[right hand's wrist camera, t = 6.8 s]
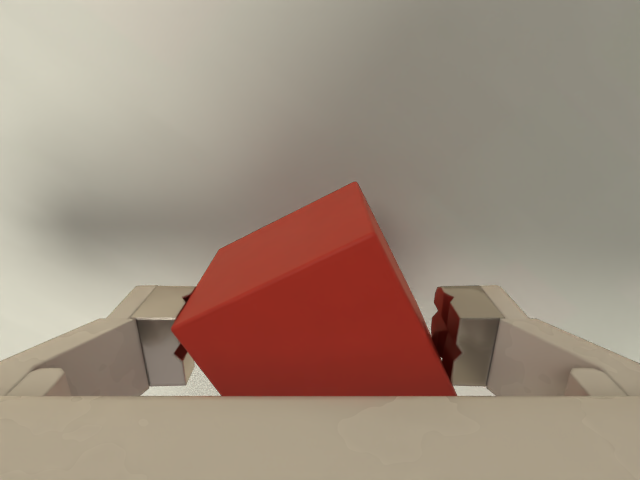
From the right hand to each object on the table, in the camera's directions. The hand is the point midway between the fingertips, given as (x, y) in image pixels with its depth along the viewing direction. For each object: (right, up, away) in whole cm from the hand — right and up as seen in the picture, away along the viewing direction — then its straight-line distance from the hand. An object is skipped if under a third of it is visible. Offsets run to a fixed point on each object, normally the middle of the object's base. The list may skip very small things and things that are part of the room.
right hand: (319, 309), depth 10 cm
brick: (0, +1, +2) cm, 2 cm away
